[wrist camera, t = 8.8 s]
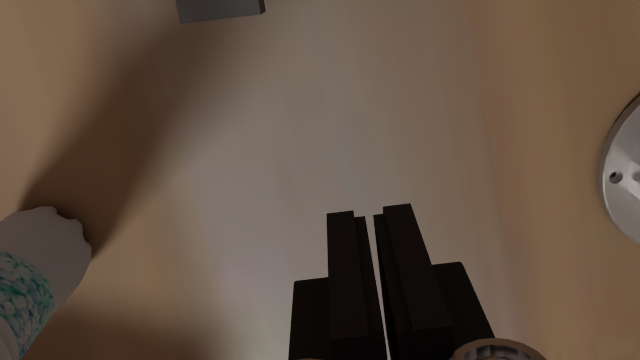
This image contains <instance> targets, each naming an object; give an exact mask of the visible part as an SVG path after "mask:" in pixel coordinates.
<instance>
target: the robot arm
mask: <svg viewBox="0 0 640 360" xmlns="http://www.w3.org/2000/svg"><path fill="white" fill-rule="evenodd" d="M612 172H613V173H612ZM611 173H612V174H611ZM610 174H611V175H610ZM597 184H598V193H599V197H600V199H601V202H602V205H603V208H604V210H605V211H606V213H607V214H608V216H609V218H610V219H611V221H612V222H613V223H614V224H615V225H616V226H617V227H618V228H619V229H620V230H621V231H622V232H623V233H624V234H626V235H627V236H628V237H630V238H631V239H632V240H634V241H635V242H637V243H639V244H640V96H639V97H638V98H637V99H635V100H634V101H633V102H632V103H631V104H630V105H629V106H628V107H627V108H626V109H625V110H624V112H623V113H622V114H621V116H620V117H619V118H618V120H617V121H616V122H615V124H614V125H613V127H612V129H611V131H610V132H609V134H608V136H607V138H606V140H605V142H604V145H603V148H602V151H601V155H600V158H599V162H598V171H597ZM373 217H374V227H375V236H376V244H377V253H378V262H379V271H380V280H381V289H382V298H383V306H384V315H385V324H386V332H387V339H388V346H389V352H390V357H391V360H546V359H545V358H544V357H543V356H542V355H541V354H540V353H539V352H538V351H537V350H535V349H533V348H531V347H529V346H527V345H525V344H523V343H520V342H516V341H513V340H509V339H500V338H495V336H494V334H493V331H492V329H491V327H490V325H489V322H488V320H487V318H486V316H485V313H484V311H483V309H482V307H481V304H480V302H479V300H478V298H477V295H476V293H475V291H474V289H473V286H472V284H471V282H470V280H469V277H468V275H467V273H466V271H465V268H464V266H463V264H462V263H461V262H452V263H444V264H435V265H432V264H431V261H430V258H429V255H428V253H427V250H426V247H425V244H424V241H423V238H422V235H421V232H420V230H419V227H418V224H417V221H416V218H415V215H414V212H413V209H412V207H411V204H410V203H409V204H401V205H393V206H385V207H383V214H378V215H373ZM327 244H328V277H325V278H317V279H308V280H300V281H295V282H294V290H293V304H292V317H291V331H290V344H289V358H288V360H387V351H386V343H385V336H384V329H383V322H382V316H381V310H380V304H379V298H378V292H377V286H376V280H375V274H374V268H373V262H372V256H371V250H370V244H369V238H368V232H367V226H366V220H365V216H362V217H354V212H353V211H345V212H337V213H328V214H327Z"/></svg>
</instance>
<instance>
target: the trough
mask: <svg viewBox="0 0 640 360" xmlns="http://www.w3.org/2000/svg"><path fill="white" fill-rule="evenodd" d="M176 5H177V9H178V14H179V18H180V23H181V24H182V23H190V22H199V21H207V20H215V19H224V18H232V17H240V16H249V15H257V14H262V13H264V12H266V11H265V5H264V0H176Z"/></svg>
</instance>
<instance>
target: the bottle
mask: <svg viewBox="0 0 640 360" xmlns="http://www.w3.org/2000/svg"><path fill="white" fill-rule="evenodd" d="M82 231H83V227H82V224H81V223H80V222H79V221H78V220H77V219H65V218H63V217H61V216H59V215H57V210H56V209H55V208H54V207H51V206H41V207H37V208H34V209H31V210H26V211H18V212H15V213H12V214H11V215H9V216H8V217H6V218H5V219H4V220H2V221H1V222H0V360H21V359H22V358H23V356H24V355H25V354H26V352H27V351H28V349H29V348H30V347H31V345H32V344H33V342H34V341H35V340H36V338H37V337H38V335H39V334H40V333H41V331H42V330H43V328H44V327H45V326H46V324H47V323H48V321H49V320H50V318H51V317H52V315H53V314H54V313H55V312H56V311H57V310H58V309H59V307H60V306H61V305H62V304H63V303H64V302H65V301H66V299H67V298H68V297H69V296H70V295H71V294H72V292H73V291H74V290H75V289H76V287H77V286H78V285H79V283H80V282H81V280H82V278H83V277H84V275H85V272H86V270H87V268H88V265H89V262H90V260H91V253H92V249H91V245H90V244H89V243H88V242H85V239H84V237H83V233H82Z"/></svg>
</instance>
